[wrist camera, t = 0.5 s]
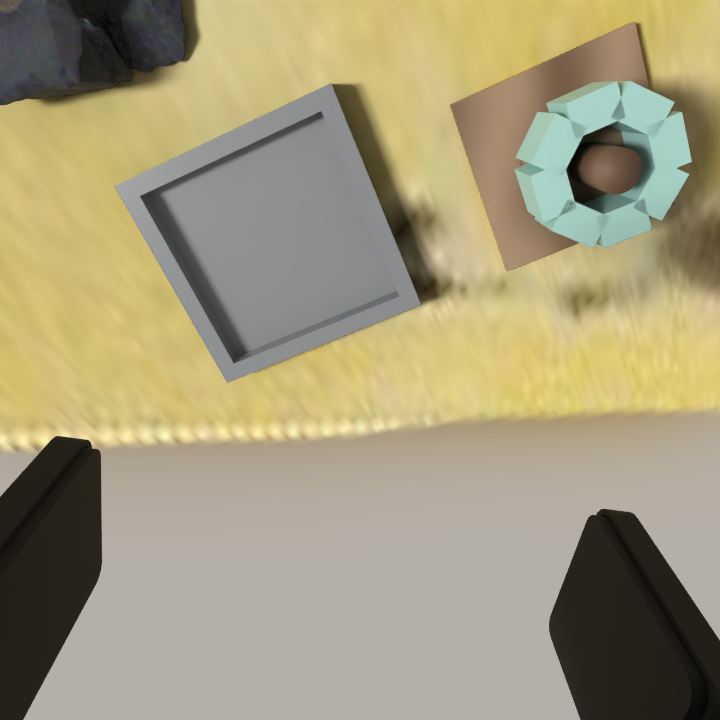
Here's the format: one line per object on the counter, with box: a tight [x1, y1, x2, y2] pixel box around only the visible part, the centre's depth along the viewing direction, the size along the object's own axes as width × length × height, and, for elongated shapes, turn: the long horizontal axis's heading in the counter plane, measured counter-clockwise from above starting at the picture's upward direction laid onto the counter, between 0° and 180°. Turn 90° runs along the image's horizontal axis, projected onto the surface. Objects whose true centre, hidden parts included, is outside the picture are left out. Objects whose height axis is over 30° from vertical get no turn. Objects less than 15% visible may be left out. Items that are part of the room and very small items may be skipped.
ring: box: [515, 81, 692, 248], centre depth 29 cm, size 7×7×3 cm
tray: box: [114, 83, 421, 383], centre depth 35 cm, size 13×13×2 cm
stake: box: [450, 22, 674, 271], centre depth 30 cm, size 10×10×8 cm
